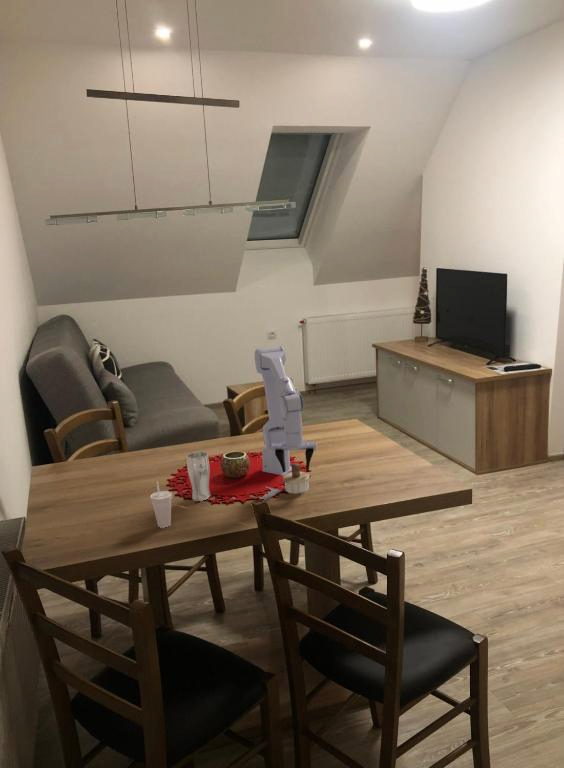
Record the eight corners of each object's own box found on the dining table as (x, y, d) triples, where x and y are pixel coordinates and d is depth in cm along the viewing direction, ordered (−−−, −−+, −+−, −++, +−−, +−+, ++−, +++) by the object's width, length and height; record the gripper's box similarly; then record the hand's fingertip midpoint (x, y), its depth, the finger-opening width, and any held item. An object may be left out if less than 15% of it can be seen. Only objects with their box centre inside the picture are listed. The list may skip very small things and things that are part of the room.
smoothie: (154, 521, 191) (149, 478, 188) (176, 519, 192) (171, 476, 189) (152, 531, 185) (146, 486, 182) (174, 529, 186) (169, 484, 182)
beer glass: (215, 495, 208) (211, 451, 205) (206, 503, 202) (202, 459, 199) (196, 493, 211) (192, 450, 207) (187, 502, 204) (182, 458, 201)
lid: (277, 480, 207) (276, 466, 205) (293, 472, 213) (292, 458, 212) (298, 485, 201) (297, 471, 200) (314, 476, 208) (313, 462, 207)
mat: (243, 496, 206) (243, 495, 206) (260, 486, 213) (260, 485, 213) (265, 501, 201) (265, 500, 200) (282, 491, 208) (282, 490, 207)
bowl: (281, 491, 207) (280, 480, 207) (294, 483, 213) (293, 472, 212) (299, 496, 203) (299, 484, 202) (313, 487, 209) (312, 476, 208)
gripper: (269, 435, 201) (272, 475, 204) (315, 434, 199) (317, 474, 202) (272, 428, 207) (275, 467, 211) (316, 427, 206) (318, 467, 209)
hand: (295, 470), depth 207 cm, fingers open, 7 cm apart
